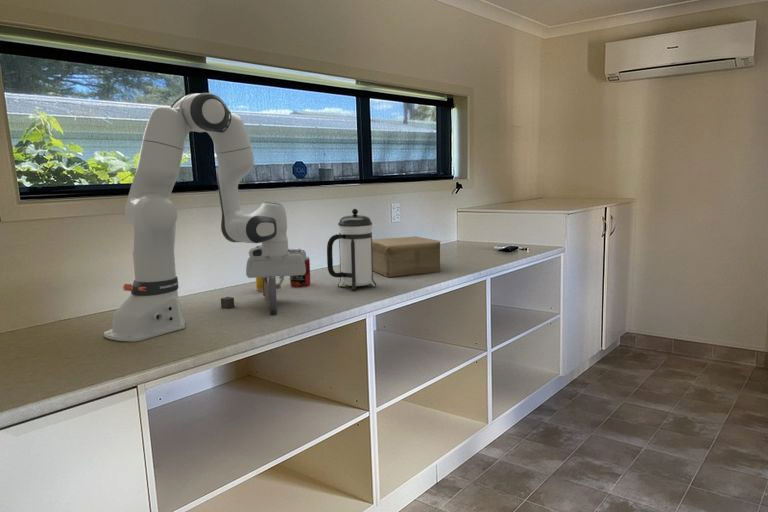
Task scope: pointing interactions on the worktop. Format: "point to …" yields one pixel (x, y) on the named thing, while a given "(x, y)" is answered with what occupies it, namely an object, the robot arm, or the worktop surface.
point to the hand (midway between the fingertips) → (277, 288)
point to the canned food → (302, 276)
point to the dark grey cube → (227, 302)
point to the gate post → (272, 295)
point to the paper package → (405, 256)
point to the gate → (265, 289)
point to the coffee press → (353, 251)
